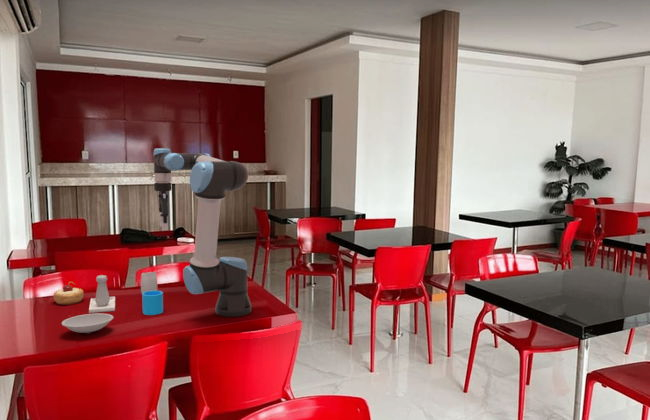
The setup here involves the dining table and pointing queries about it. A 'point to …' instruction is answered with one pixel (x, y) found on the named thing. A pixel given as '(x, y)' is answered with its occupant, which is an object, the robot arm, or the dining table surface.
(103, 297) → the salt shaker
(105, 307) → the tray
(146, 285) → the tea bag
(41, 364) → the dining table surface
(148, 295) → the mug
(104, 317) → the dish
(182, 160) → the robot arm
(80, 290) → the pastry
